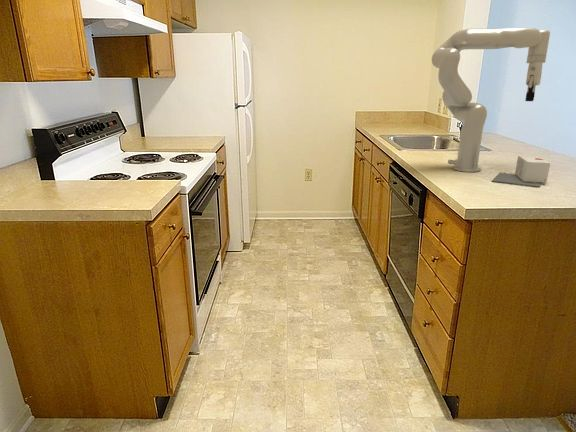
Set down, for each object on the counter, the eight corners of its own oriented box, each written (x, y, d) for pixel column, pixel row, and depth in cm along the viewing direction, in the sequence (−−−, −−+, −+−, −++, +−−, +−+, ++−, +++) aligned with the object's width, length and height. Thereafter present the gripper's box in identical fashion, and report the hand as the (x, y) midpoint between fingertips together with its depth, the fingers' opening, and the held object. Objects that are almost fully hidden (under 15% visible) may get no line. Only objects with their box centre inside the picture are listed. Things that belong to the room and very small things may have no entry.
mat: (491, 181, 179) (491, 180, 179) (499, 173, 194) (499, 172, 194) (539, 187, 169) (539, 186, 169) (543, 178, 184) (544, 177, 184)
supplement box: (540, 155, 184) (551, 162, 171) (535, 175, 187) (547, 183, 174) (517, 154, 186) (527, 161, 173) (514, 174, 189) (523, 182, 176)
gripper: (543, 59, 181) (536, 102, 187) (547, 59, 192) (540, 100, 198) (524, 59, 185) (517, 101, 191) (529, 60, 197) (522, 100, 203)
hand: (529, 101), depth 195 cm, fingers closed
